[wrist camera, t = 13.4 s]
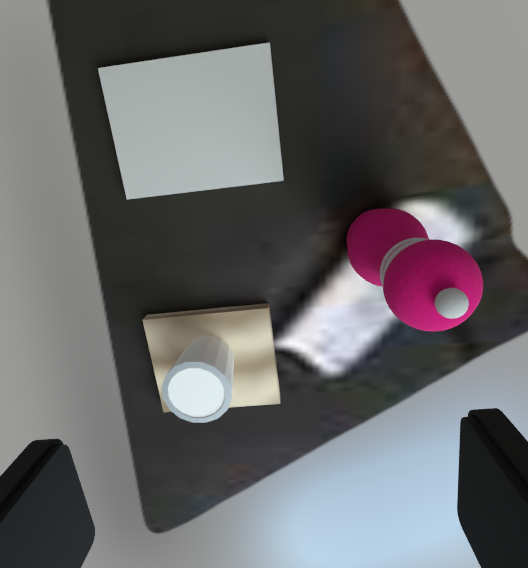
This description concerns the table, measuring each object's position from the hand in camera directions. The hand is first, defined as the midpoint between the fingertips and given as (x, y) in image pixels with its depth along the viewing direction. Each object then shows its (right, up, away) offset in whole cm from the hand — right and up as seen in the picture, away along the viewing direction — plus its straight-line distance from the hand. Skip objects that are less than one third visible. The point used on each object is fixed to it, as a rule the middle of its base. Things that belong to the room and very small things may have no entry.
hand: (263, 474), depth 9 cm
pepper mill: (+12, +9, +32) cm, 35 cm away
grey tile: (-7, +20, +29) cm, 36 cm away
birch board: (-6, -4, +37) cm, 37 cm away
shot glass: (-6, -4, +35) cm, 36 cm away
